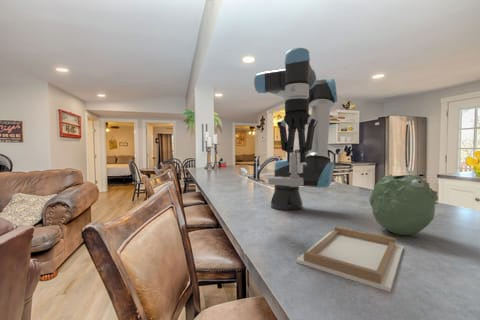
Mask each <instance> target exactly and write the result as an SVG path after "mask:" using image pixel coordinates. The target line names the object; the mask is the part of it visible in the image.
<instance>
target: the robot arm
mask: <svg viewBox="0 0 480 320" xmlns="http://www.w3.org/2000/svg"><path fill="white" fill-rule="evenodd" d="M310 60H311V58H310V51H309V49H307V48H305V47H296V48H295V47H294V48H291V49H289V50H288V51H286V53H285V59H284V67H285V68H283V69H277V70H271V71H263V72H260V73H257V74H256V75H255V76H254V81H253V85H254V86H253V87H254V89H255V91H256V92H257V93H258V94H265V93H266V94H267V93H269V94H273V95H275V96H278V97H281V98H283V99H284V113H285V114H284V117H283V119H282V120H281V121H277V126H278V129H279V130H278V131H279V137H280V145H281V150H282V151H285V152H286V154H287V155H286V156H287V157H286V158H287V159H280V160H276V162H275V163H274V171H273V172H274V177H290V175H291V157H290V156H296V163H297V175H299V177H300V178H303V183H304V184H303V185H302V186H301V187H304V188H305V187H306V188H307V187H308V188H309V187H310V188H318V189H320V188H323V189H326V188H328V187H330V186H331V184H332V181H333V177H334V171H335V170H334V168H335V163H334V162H333V161H331V157H330V156H329V155H328V153H329V152H328V151H329V150H328V149H329V134H330V117H331V109H333V108H334V105H335V104H336V103H337V102H338V94H337V93H338V92H337V85H336V81H335V80H336V79H334V78H323V79H317V76H316V75H317V74H316V72H315V70H314V69H313V68H312V66H311V65H310ZM310 109H311V114H310V113H309V111H310ZM307 124H308V126H307V133H306V125H307ZM286 126H287V128H286ZM287 132H288V133H287ZM296 132H297V136H298V147H299V150H298V152H297V153H296V152H295V150H294V147H295V136H296ZM306 153H307V155H306ZM273 190H274V191H273V195H272V197H271V200H270V207H271V208H272V209H275V210H280V211H298V210H301V209H303V201H302V197H301V194H300V186H299V187H290V186H283V185H274V189H273Z"/></svg>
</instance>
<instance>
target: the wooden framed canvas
mask: <svg viewBox="0 0 480 320" xmlns="http://www.w3.org/2000/svg"><path fill="white" fill-rule="evenodd" d="M396 239H397V238H395V237H391V236H387V235H382V234H376V233H371V232H365V231H361V230H356V229H350V228H346V227H340V226H335V227H334V230H333V231H332V230H329V232H328V233H327V234H326V235H324V236H323V237H321V238H320V239H319V240H318V241H317V242H315V243H314V244H313V245H311V247H310V248H308V249H307V250H305V251H304V252H303V253H302V254H301V255H300V256H298V257H297V258H296V260H295V261H296V263H298V264H301V265H304V266H307V267H310V268H313V269H317V270H319V271H323V272H326V273H329V274H333V275H335V276H338V277H342V278H345V279H347V280H351V281H354V282H357V283H360V284H363V285H367V286H370V287H373V288H376V289H379V290H382V291H385V292H389V293H391V291H392V289H393V285H394V282H395V278H396V274H397V271H398V268H399V265H400V261H401V257H402V254H403V250H404V246H403V245H398V244H396V241H397V240H396Z"/></svg>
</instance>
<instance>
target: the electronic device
mask: <svg viewBox="0 0 480 320" xmlns="http://www.w3.org/2000/svg"><path fill="white" fill-rule="evenodd" d="M290 157H291V175H290V177H275V176H271V177H268V184H269V185H274V186H275V185H283V186H290V187H299V188H300V187H303V186H302V185H303V184H304V183H303V178H300V177H299V175H297V163H296V159H297V155H295V156H290Z"/></svg>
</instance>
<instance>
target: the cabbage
mask: <svg viewBox="0 0 480 320" xmlns="http://www.w3.org/2000/svg"><path fill="white" fill-rule="evenodd" d="M430 186H431V185H430V183H429V182H427V181H425V180H424V179H423V178H422V176H420V175H419V174H416V173H413V174H412V175H408V174H405V175H404V174H403V175H392V174H389V175H387V176H383V177H382V178H381V179H379V181H377V182H376V183H375V186H374V188H373V189H372V193H371V195H370V197H369V203H370V206H371V208H372V210H371V211H372V214H373V217H374V218H375V220H376V221H377V223H378V224H379V225H380V226H381V227H382V228H383V229H385V230H387V231H389V232H390V233H393V234H395V235H397V236H398V235H399V236H410V235H416V234H418V233H419V232H421V231H423V230H424V229H425V228H427V227H428V226H429V225H430V224H431V222H432V221H433V219H434V218H435V211H436V205H437V204H438V202H437V201H439V197H438V191H436V190H433V189H432V188H431V187H430Z"/></svg>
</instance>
